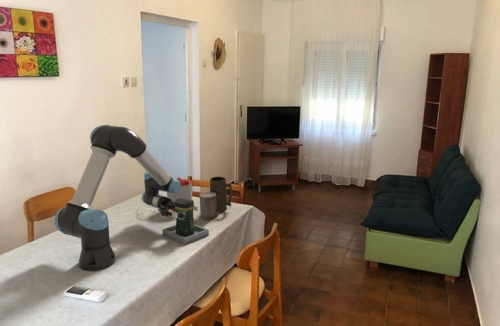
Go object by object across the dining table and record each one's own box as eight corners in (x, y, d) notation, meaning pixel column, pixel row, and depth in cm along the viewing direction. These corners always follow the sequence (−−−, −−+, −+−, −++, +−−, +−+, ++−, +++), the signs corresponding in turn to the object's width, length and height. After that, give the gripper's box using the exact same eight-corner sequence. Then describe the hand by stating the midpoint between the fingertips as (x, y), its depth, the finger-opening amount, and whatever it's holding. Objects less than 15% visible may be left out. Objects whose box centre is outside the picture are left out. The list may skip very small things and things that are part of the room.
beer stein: (205, 210, 243) (207, 179, 238) (212, 205, 253) (213, 175, 248) (229, 215, 239) (231, 183, 234) (235, 209, 249) (237, 178, 244)
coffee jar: (197, 231, 209) (196, 198, 205) (189, 237, 202) (188, 202, 198) (181, 228, 213) (180, 195, 209) (173, 234, 206) (171, 200, 202)
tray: (184, 244, 196) (184, 239, 195) (162, 234, 208) (162, 229, 207) (208, 235, 208) (208, 229, 207) (186, 226, 219) (186, 221, 219)
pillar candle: (219, 214, 237) (218, 190, 234) (213, 220, 228) (212, 195, 224) (203, 213, 239) (202, 189, 236) (197, 219, 230) (196, 194, 227)
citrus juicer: (190, 202, 258) (189, 172, 254) (194, 211, 242) (193, 179, 237) (165, 205, 253) (164, 174, 249) (168, 214, 237) (167, 181, 233)
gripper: (181, 203, 227) (206, 212, 213) (143, 215, 209) (167, 225, 195) (180, 191, 225) (205, 199, 212) (142, 201, 207) (167, 211, 193)
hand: (187, 212), depth 203 cm, fingers open, 13 cm apart
